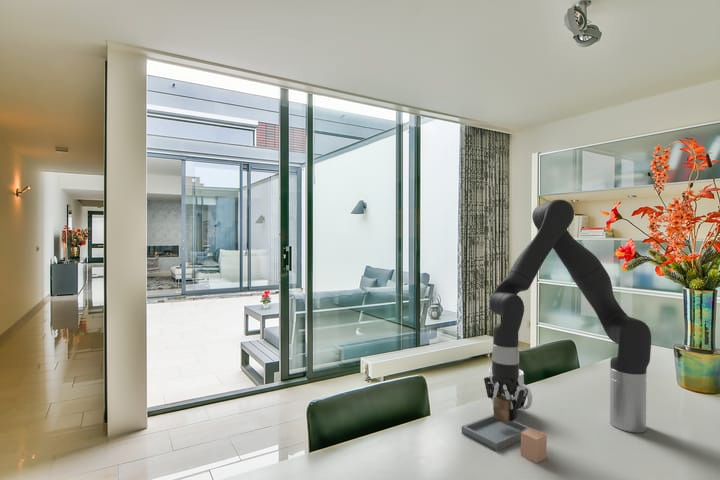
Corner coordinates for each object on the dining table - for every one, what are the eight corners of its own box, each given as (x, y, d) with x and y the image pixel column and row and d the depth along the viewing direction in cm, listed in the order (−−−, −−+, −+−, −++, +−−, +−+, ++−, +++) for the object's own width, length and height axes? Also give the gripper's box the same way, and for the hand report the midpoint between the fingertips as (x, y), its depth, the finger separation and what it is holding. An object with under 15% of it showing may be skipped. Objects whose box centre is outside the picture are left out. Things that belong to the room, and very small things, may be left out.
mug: (541, 416, 129) (541, 375, 129) (520, 424, 123) (520, 382, 123) (502, 400, 142) (502, 363, 142) (481, 407, 136) (481, 368, 136)
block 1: (493, 417, 120) (493, 397, 120) (503, 413, 123) (503, 394, 123) (506, 423, 116) (506, 402, 116) (516, 419, 119) (516, 399, 119)
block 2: (530, 450, 108) (530, 428, 108) (546, 457, 105) (546, 434, 105) (520, 455, 106) (520, 432, 106) (536, 463, 102) (536, 439, 102)
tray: (496, 419, 127) (496, 413, 127) (531, 435, 117) (531, 428, 117) (461, 433, 118) (461, 426, 118) (496, 451, 108) (496, 443, 108)
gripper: (535, 364, 116) (534, 423, 116) (493, 352, 127) (492, 406, 127) (519, 368, 111) (518, 430, 111) (477, 355, 123) (477, 411, 123)
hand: (504, 417), depth 119 cm, fingers closed on block 1, 4 cm apart
